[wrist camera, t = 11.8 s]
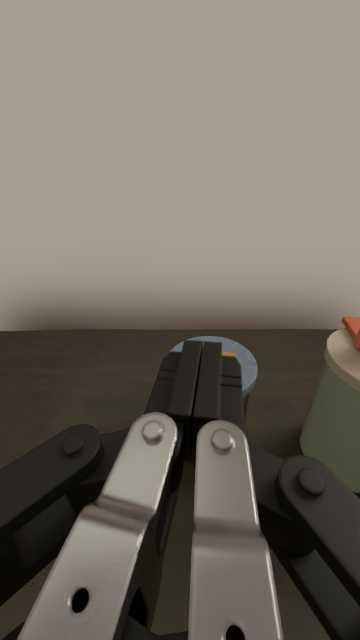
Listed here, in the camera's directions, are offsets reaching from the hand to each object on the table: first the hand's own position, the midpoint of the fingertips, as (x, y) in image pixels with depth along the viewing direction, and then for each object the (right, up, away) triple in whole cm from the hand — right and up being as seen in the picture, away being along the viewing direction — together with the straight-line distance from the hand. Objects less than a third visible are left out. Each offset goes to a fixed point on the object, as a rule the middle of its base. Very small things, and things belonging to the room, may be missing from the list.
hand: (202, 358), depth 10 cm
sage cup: (+16, -12, +16) cm, 26 cm away
